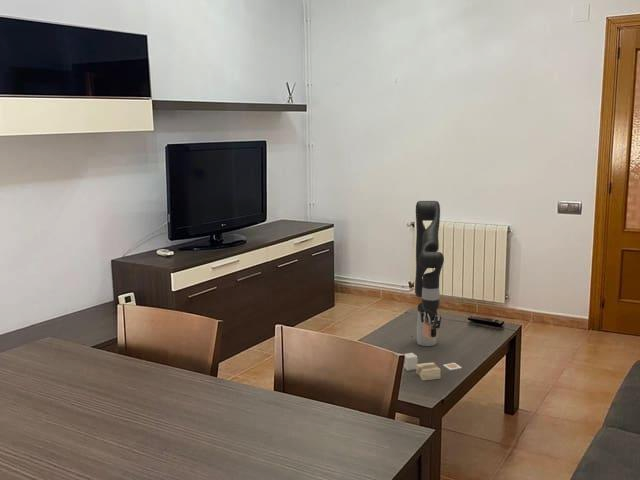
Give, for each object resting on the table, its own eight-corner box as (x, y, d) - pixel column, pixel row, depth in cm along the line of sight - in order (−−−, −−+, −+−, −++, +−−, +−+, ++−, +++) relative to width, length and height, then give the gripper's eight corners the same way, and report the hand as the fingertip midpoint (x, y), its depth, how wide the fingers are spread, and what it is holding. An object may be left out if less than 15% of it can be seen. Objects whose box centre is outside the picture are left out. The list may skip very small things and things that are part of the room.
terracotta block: (422, 335, 272) (422, 322, 271) (432, 334, 274) (432, 321, 273) (428, 339, 268) (428, 325, 267) (438, 337, 270) (438, 324, 269)
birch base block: (416, 373, 276) (416, 364, 275) (433, 371, 278) (433, 362, 277) (422, 380, 268) (422, 371, 268) (440, 379, 270) (440, 369, 269)
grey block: (402, 366, 283) (402, 354, 282) (411, 365, 285) (412, 352, 284) (407, 370, 279) (407, 358, 278) (417, 369, 281) (417, 356, 279)
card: (443, 365, 284) (443, 364, 283) (454, 363, 286) (454, 362, 286) (450, 370, 278) (450, 369, 278) (461, 368, 280) (461, 366, 280)
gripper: (447, 300, 263) (446, 338, 266) (429, 292, 276) (428, 329, 279) (431, 302, 260) (431, 341, 263) (414, 294, 273) (414, 331, 276)
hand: (430, 334), depth 271 cm, fingers closed on terracotta block, 5 cm apart
